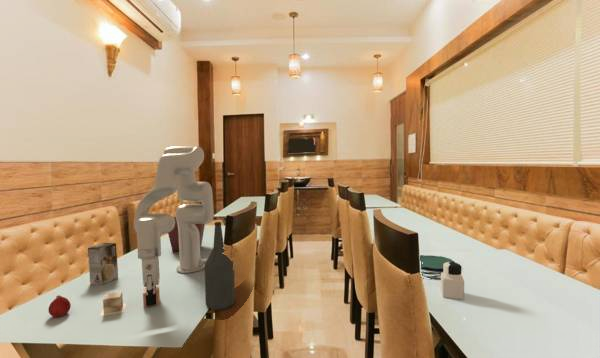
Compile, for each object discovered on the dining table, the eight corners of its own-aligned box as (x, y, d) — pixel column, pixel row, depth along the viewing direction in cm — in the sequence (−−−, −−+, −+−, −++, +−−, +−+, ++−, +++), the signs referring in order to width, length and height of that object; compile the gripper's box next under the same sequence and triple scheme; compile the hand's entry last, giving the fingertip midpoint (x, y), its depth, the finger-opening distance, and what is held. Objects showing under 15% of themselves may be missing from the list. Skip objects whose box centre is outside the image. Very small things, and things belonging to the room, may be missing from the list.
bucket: (196, 254, 174) (194, 210, 173) (157, 255, 175) (155, 211, 173) (209, 243, 199) (208, 204, 197) (175, 243, 199) (173, 205, 198)
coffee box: (106, 276, 143) (104, 242, 142) (118, 277, 141) (116, 242, 140) (89, 284, 134) (87, 247, 133) (102, 285, 132) (100, 248, 131)
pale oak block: (122, 305, 111) (122, 291, 111) (120, 311, 106) (120, 296, 106) (106, 307, 109) (105, 293, 109) (103, 314, 104) (102, 299, 104)
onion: (57, 314, 107) (55, 291, 107) (75, 313, 107) (73, 290, 107) (45, 323, 101) (43, 299, 101) (63, 322, 102) (62, 298, 101)
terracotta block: (159, 301, 115) (159, 285, 115) (159, 307, 111) (158, 291, 110) (144, 304, 113) (144, 288, 113) (143, 310, 109) (142, 293, 109)
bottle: (211, 297, 118) (208, 219, 116) (237, 297, 118) (234, 219, 116) (202, 310, 108) (199, 225, 106) (230, 310, 107) (227, 224, 106)
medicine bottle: (461, 292, 119) (461, 261, 118) (464, 300, 112) (464, 267, 111) (440, 290, 121) (440, 259, 120) (442, 297, 114) (442, 265, 114)
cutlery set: (452, 260, 157) (452, 255, 157) (464, 283, 128) (464, 278, 128) (410, 257, 163) (410, 253, 163) (413, 279, 134) (413, 274, 134)
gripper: (160, 257, 105) (162, 309, 106) (161, 245, 120) (163, 291, 121) (135, 260, 102) (137, 314, 103) (140, 247, 118) (142, 294, 118)
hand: (151, 301), depth 112 cm, fingers closed on terracotta block, 5 cm apart
